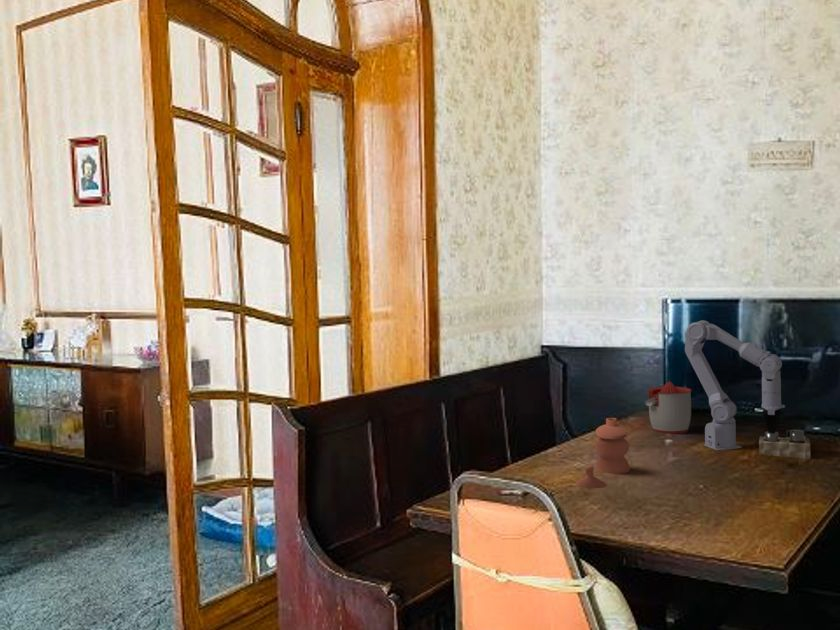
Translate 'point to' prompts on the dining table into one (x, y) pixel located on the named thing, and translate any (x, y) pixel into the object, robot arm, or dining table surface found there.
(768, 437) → the steel peg
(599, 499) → the dining table surface
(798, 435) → the steel peg
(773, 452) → the press block
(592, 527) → the dining table surface
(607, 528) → the dining table surface
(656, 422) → the citrus juicer
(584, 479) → the ceramic vessels
